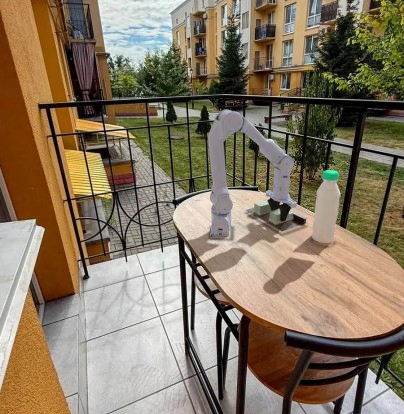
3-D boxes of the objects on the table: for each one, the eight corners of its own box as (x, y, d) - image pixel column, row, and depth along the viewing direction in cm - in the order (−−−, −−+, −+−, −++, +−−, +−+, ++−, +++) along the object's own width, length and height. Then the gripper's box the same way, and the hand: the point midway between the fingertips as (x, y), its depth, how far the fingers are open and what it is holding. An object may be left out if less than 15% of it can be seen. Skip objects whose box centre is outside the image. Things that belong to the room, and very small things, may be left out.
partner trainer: (259, 215, 113) (259, 206, 112) (253, 212, 117) (253, 203, 115) (276, 210, 117) (277, 201, 116) (270, 207, 121) (270, 198, 119)
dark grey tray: (281, 235, 101) (282, 226, 100) (245, 213, 120) (245, 205, 118) (305, 226, 106) (306, 218, 105) (267, 206, 125) (267, 199, 123)
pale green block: (275, 224, 106) (276, 215, 104) (268, 220, 109) (268, 211, 107) (293, 219, 109) (294, 209, 108) (285, 215, 113) (286, 206, 111)
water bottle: (335, 247, 92) (346, 175, 84) (313, 245, 94) (321, 174, 85) (331, 236, 99) (340, 168, 90) (309, 235, 100) (317, 168, 91)
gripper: (304, 189, 99) (301, 223, 104) (275, 178, 111) (274, 209, 116) (289, 193, 96) (286, 228, 101) (261, 181, 108) (260, 213, 113)
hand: (279, 218), depth 108 cm, fingers closed on pale green block, 4 cm apart
